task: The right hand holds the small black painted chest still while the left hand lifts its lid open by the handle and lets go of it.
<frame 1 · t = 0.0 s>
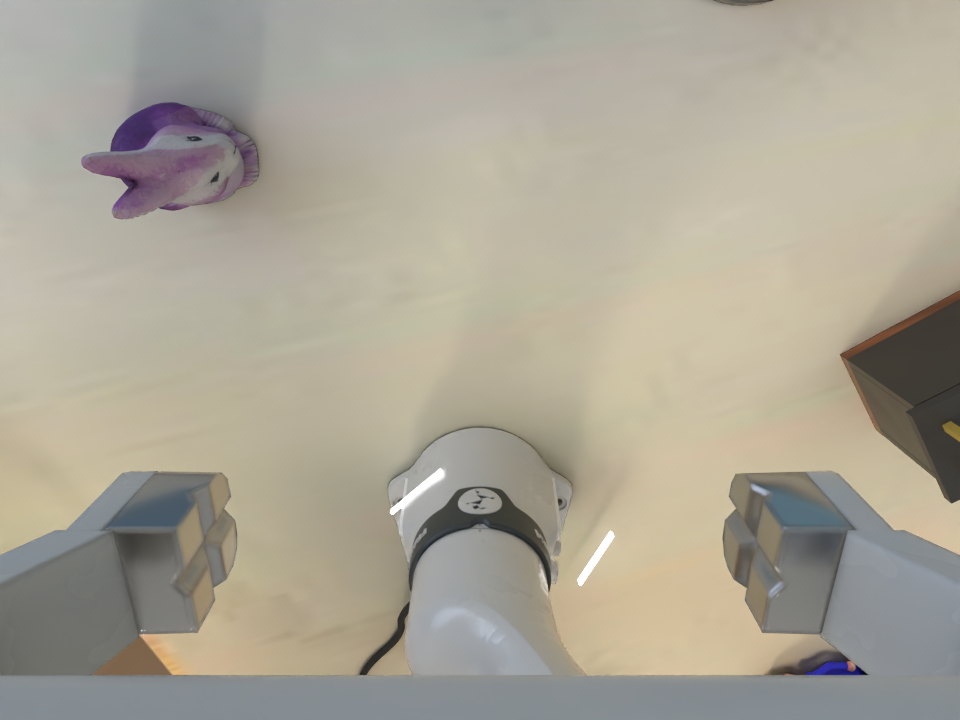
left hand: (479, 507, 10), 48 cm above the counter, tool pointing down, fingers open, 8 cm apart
figurine character: (823, 668, 76), on the counter
figurine: (206, 152, 54), on the counter
chest: (947, 347, 61), on the counter
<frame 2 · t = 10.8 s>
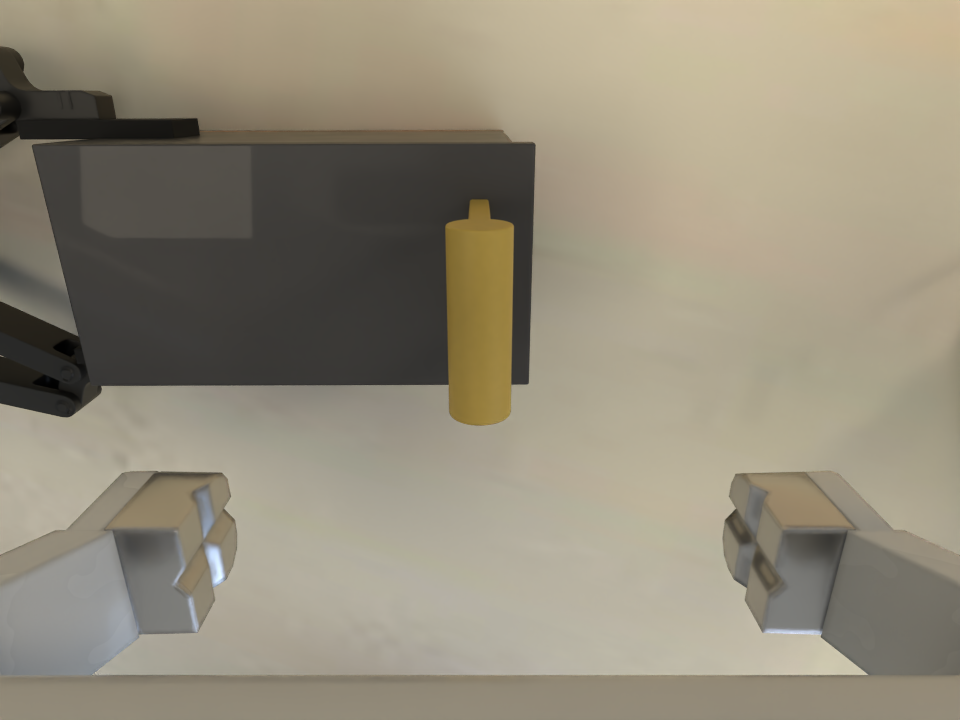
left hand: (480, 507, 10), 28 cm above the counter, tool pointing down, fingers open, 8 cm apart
lid: (273, 295, 22), point 15 cm above the counter, hinge at 0.0°
chest: (346, 220, 36), on the counter, touching right hand
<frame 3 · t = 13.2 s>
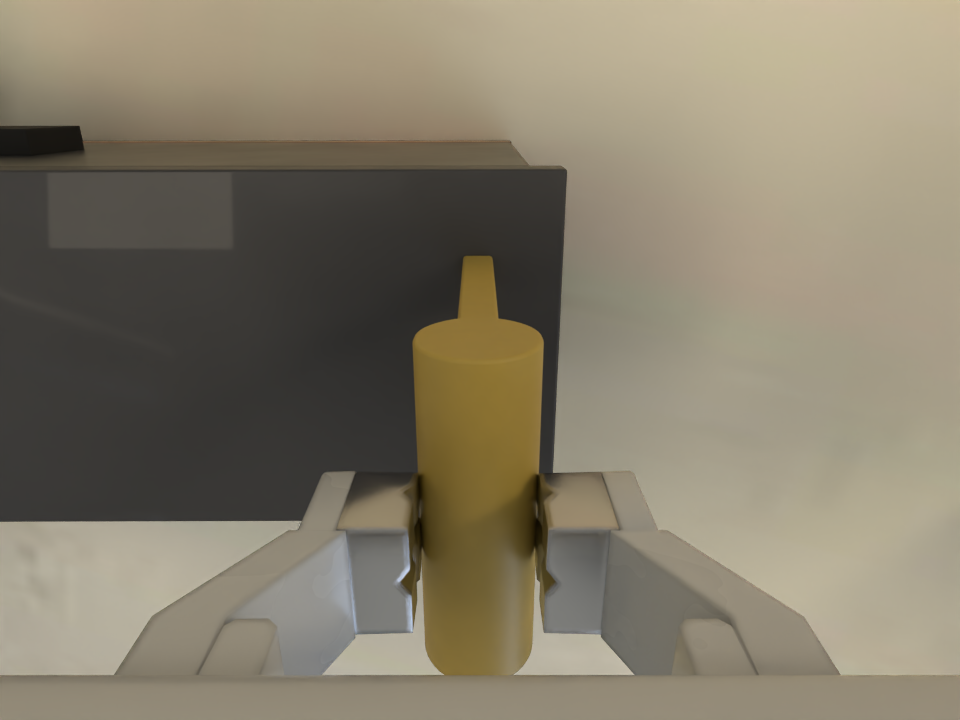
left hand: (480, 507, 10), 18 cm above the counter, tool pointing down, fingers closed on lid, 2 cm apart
lid: (140, 421, 13), point 15 cm above the counter, hinge at 0.0°, touching left hand
chest: (304, 258, 28), on the counter, touching right hand
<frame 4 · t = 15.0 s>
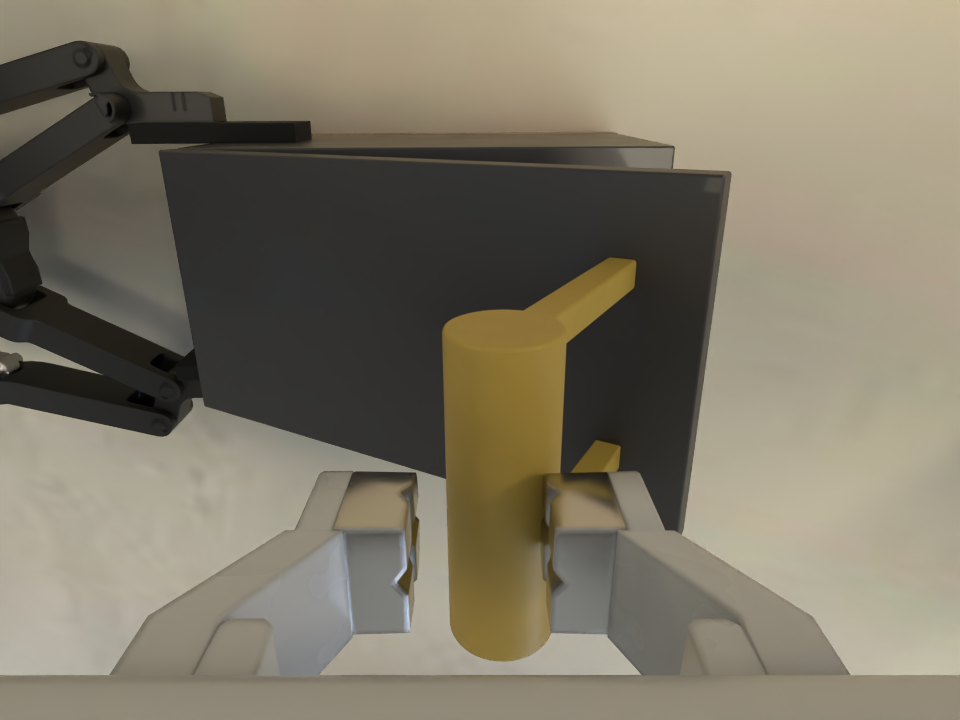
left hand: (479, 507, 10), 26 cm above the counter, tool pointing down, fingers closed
right hand: (315, 253, 29), fingers closed on chest, 9 cm apart
lid: (313, 359, 17), point 19 cm above the counter, hinge at 29.1°, touching left hand
chest: (444, 227, 35), on the counter, touching right hand
when the right hand's fingers open (6 cm above the counter, at t = 20.9 s): chest stays where it is, on the counter.
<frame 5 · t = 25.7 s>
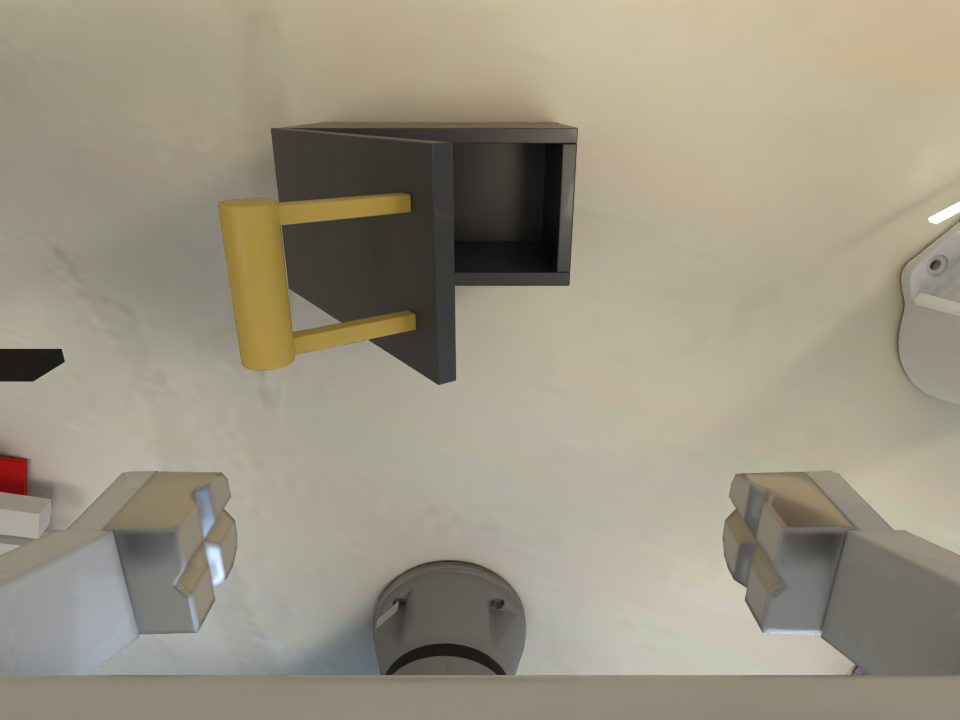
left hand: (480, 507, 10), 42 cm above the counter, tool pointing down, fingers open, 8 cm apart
lid: (278, 243, 30), point 21 cm above the counter, hinge at 55.4°
chest: (441, 188, 50), on the counter
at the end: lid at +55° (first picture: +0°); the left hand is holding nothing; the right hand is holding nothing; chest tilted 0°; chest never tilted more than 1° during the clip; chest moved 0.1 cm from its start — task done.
